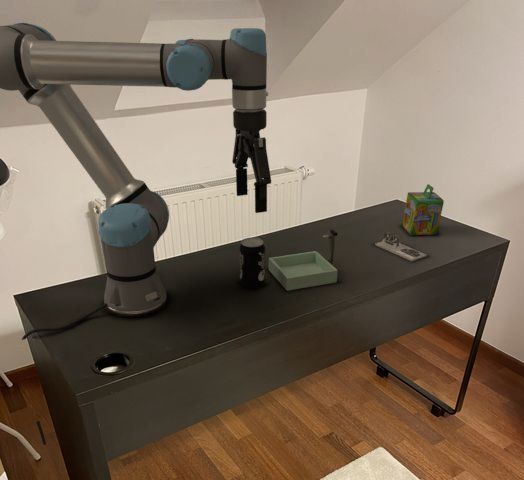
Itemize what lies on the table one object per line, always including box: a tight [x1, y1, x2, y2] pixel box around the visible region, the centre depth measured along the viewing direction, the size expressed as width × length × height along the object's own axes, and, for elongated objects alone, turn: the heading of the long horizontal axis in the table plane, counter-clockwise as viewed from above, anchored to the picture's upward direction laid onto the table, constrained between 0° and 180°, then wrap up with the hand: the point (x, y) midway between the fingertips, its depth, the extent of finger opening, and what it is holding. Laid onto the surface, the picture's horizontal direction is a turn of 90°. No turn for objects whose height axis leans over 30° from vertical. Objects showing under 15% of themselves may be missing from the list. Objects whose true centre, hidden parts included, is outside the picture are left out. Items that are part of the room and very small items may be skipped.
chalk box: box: [401, 183, 445, 236], centre depth 170 cm, size 9×9×15 cm
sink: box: [268, 250, 339, 291], centre depth 144 cm, size 15×14×4 cm
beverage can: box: [239, 237, 266, 289], centre depth 137 cm, size 7×7×12 cm
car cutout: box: [374, 230, 428, 262], centre depth 159 cm, size 15×7×4 cm, turn 35°
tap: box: [322, 229, 338, 266], centre depth 144 cm, size 4×3×12 cm
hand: (251, 203), depth 129 cm, fingers open, 13 cm apart
